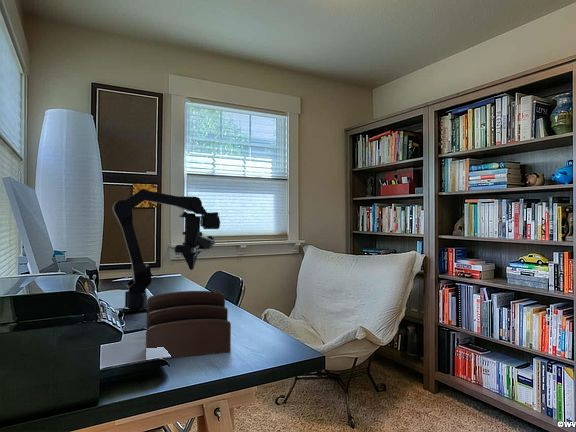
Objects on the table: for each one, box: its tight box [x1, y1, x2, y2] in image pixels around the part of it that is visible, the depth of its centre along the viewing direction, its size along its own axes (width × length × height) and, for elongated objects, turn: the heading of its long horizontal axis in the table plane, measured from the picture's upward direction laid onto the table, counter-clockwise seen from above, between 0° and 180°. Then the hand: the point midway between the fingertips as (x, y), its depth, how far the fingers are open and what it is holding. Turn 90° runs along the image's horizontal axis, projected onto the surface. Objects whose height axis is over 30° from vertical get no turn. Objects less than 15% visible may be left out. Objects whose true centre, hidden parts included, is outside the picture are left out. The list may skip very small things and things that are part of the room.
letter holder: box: [145, 290, 232, 359], centre depth 94 cm, size 10×20×14 cm, turn 110°
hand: (191, 269), depth 144 cm, fingers closed
